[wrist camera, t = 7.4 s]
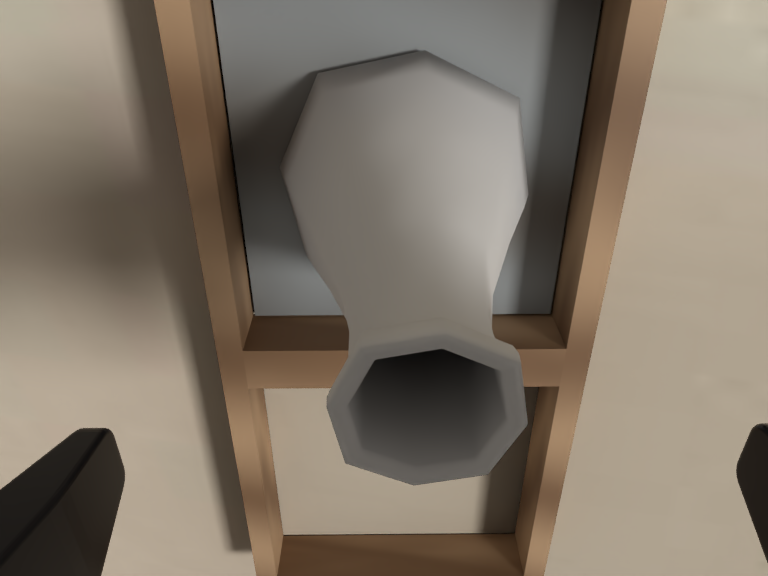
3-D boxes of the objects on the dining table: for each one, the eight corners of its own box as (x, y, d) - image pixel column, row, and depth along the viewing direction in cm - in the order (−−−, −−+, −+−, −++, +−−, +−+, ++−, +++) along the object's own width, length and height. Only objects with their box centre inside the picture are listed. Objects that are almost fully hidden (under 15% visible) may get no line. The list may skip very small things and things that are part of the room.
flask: (277, 271, 20) (201, 547, 11) (285, 30, 16) (182, 173, 8) (499, 293, 20) (586, 574, 12) (558, 65, 17) (747, 235, 8)
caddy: (531, 545, 28) (541, 587, 26) (266, 547, 27) (259, 590, 26) (643, -52, 15) (677, -47, 14) (171, -51, 15) (145, -45, 14)
